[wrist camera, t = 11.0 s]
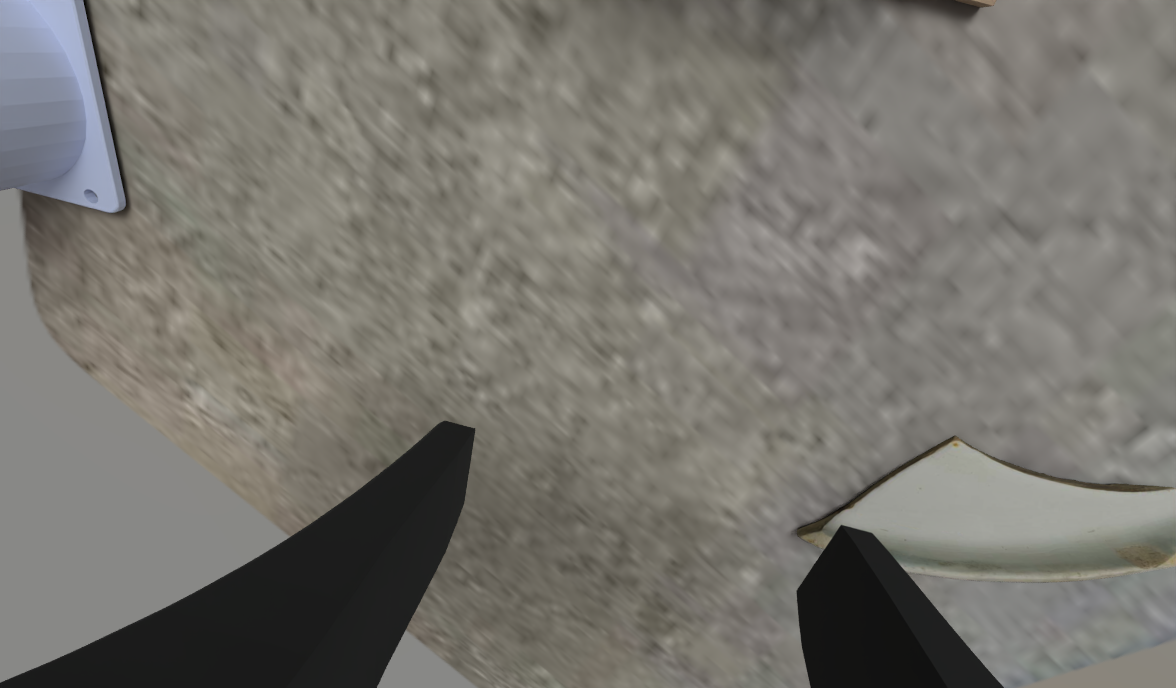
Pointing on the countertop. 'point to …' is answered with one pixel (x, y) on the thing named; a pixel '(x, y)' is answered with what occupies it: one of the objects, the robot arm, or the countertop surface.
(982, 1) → the frame
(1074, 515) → the ceramic fragment
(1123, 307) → the countertop surface
